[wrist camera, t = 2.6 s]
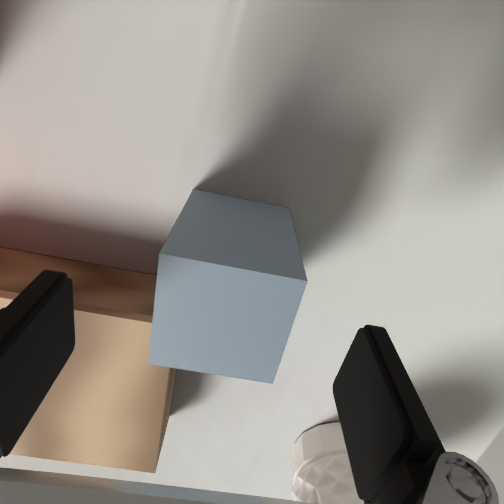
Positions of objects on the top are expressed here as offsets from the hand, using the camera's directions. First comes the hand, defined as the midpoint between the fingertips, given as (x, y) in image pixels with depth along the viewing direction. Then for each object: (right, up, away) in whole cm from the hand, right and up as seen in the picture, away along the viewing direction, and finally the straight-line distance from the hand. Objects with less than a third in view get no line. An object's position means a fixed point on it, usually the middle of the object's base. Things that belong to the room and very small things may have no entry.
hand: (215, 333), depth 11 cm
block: (0, +3, +8) cm, 8 cm away
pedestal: (-10, -3, +11) cm, 15 cm away
